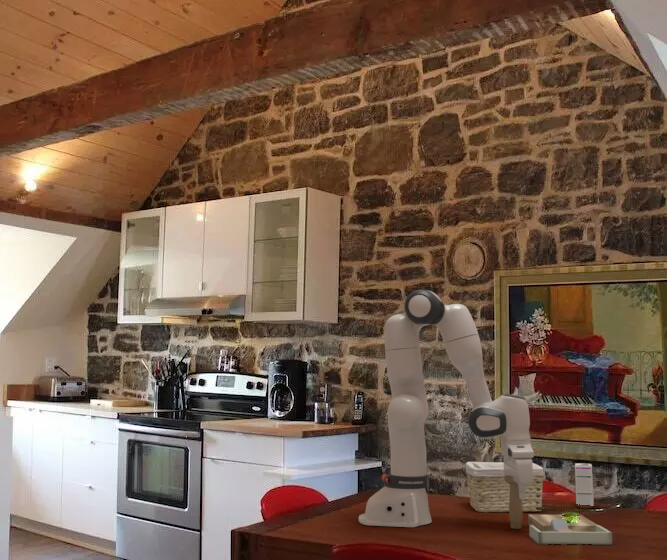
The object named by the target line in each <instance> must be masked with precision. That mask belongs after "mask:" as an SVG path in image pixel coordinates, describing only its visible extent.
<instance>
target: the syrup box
mask: <svg viewBox="0 0 667 560" xmlns="http://www.w3.org/2000/svg"><path fill="white" fill-rule="evenodd" d="M593 476H594V474H593V466H592V463H584V462H583V463H582V462H581V463H574V479H575V480H574V483H575V504H578V505H579V504H580V505H590V506H594V507H595V505H594V504H595V502H594V500H595V499H594V496H595V495H594V478H593Z"/></svg>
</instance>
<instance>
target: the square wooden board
mask: <svg viewBox="0 0 667 560" xmlns="http://www.w3.org/2000/svg"><path fill="white" fill-rule="evenodd" d="M562 515H563V514H528V515H527V519H528V520H527V522H528V523H527V524H528V526H529V525H534V526H535V527H536V528H537V529H539V530H540V531H541V532H552V530H551V526H550V524H551V520H552V519H562ZM578 515H579V518H580V521H579V522H578V523H567V525H568V528H569V529H571V530H572V531H574V532H596V525H598V524H597V523H595V522H593V521H592V520H590V519H589V518H587V517H585V516H583V515H582V514H578Z"/></svg>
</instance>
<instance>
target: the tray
mask: <svg viewBox="0 0 667 560" xmlns="http://www.w3.org/2000/svg"><path fill="white" fill-rule="evenodd" d="M528 526H529V527H528V529H529V531H528V532H529V534H528V535H529V538H531V539H532V541H534V542H535V543H537V544H538V545H548V544H552V546H553V544H561V545H566V546H567V544H577V545H578V546H579V544H580V545H582V544H586V545H585V546H587V544H592V545H591V546H593V545H597V546H600V545H602V546H603V545H604V546H605V545H607V546H611V545H612V546H613V532H612V531H610V530H608V529H607V528H605V527H603V526H602V525H599V524H597V525H596V532H541V531H540V530H539V529H537V528H536V527H535V526H534V525H528Z"/></svg>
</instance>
